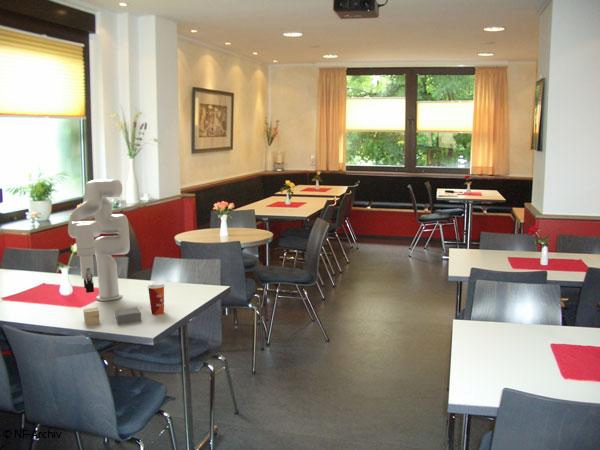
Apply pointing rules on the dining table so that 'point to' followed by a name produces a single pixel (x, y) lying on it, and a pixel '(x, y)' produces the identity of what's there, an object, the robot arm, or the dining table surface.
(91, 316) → the oak cube
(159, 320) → the dining table surface
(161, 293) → the paper cup
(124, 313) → the slate pedestal
